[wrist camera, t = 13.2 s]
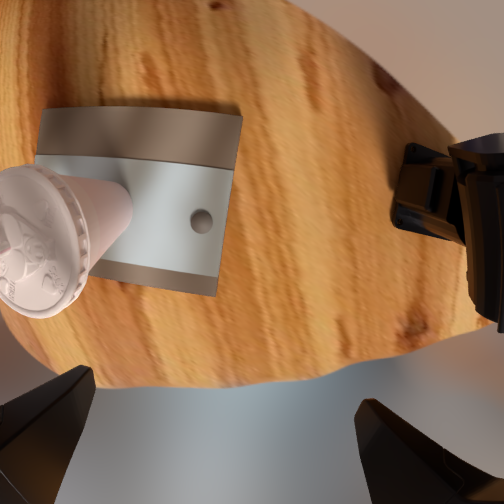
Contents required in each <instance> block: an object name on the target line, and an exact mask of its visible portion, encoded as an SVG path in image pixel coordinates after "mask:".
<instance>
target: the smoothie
mask: <svg viewBox="0 0 504 504" xmlns="http://www.w3.org/2000/svg"><path fill="white" fill-rule="evenodd" d="M132 215H133V204H132V200H131V197H130V195H129V193H128V192H127V190H126V189H125V188H124V187H123V186H121V185H120V184H118V183H116V182H112V181H105V180H98V179H90V178H83V177H75V176H67V175H61V174H57V173H56V172H54V171H52V170H50V169H48V168H46V167H44V166H42V165H35V164H25V165H22V166H18V167H11V168H8V169H5V170H3V171H1V172H0V298H1V299H2V300H3V301H4V302H5V303H6V304H7V305H8V306H10V307H11V308H12V309H14V310H15V311H17V312H19V313H20V314H23V315H25V316H28V317H31V318H48V317H51V316H54V315H56V314H57V313H59V312H60V311H62V310H63V309H64V308H66V307H67V306H69V305H70V304H71V303H72V302H73V301H74V300H76V299H77V298H78V296H79V294H80V293H81V291H82V289H83V288H84V286H85V284H86V281H87V277H88V273H89V271H90V270H91V268H92V267H93V266H94V265H95V263H96V262H97V261H98V260H99V259H100V257H101V256H102V255H103V254H104V253H105V252H106V250H107V249H108V248H109V247H110V246H111V245H112V243H113V242H114V241H115V240H116V239H117V238H118V237H119V236H120V234H121V233H122V232H123V231H124V230H125V229H126V228H127V226H128V225H129V223H130V221H131V219H132Z"/></svg>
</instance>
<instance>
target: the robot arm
mask: <svg viewBox="0 0 504 504" xmlns="http://www.w3.org/2000/svg"><path fill="white" fill-rule="evenodd" d="M411 147H413V148H414V151H413V152H412V151H411ZM448 151H449V155H450V156H451V157H452V158H451V157H448V156H446V155H444V154H441V153H439V152H437V151H434V150H432V149H429V148H427V147H424V146H422V145H419V144H416V143H408V144H407V145H406V148H405V155H404V162H403V166H402V167H401V171H400V177H399V182H398V188H397V193H396V205H395V210H394V214H393V219H392V224H393V226H394V227H396V228H398V229H402V230H406V231H411V232H415V233H419V234H423V235H428V236H432V237H436V238H440V239H444V240H448V241H454V242H456V243H458V244H460V245H462V246H465V247H466V253H467V268H468V271H467V272H466V275H467V281H468V292H469V296H470V298H471V300H472V301H473V303H474V304H475V305H476V306H475V310H476V312H478V313H479V314H480V315H482V316H483V317H485V318H486V319H489V320H491V321H493V322H495V323H498V329H497V331H498V333H504V133H494V134H489V135H485V136H482V137H478V138H475V139H471V140H467V141H464V142H461V143H457V144H454V145H450V146H448ZM399 219H400V224H397V221H398V220H399ZM95 390H96V385H95V380H94V374H93V370H92V368H91V367H88V366H84V365H79V366H77V367H75V368H73V369H71V370H69V371H67V372H65V373H63V374H61V375H60V376H58V377H56V378H54V379H52V380H50V381H48V382H46V383H44V384H42V385H40V386H38V387H36V388H34V389H33V390H30V391H29V392H27V393H25V394H23V395H21V396H19V397H17V398H15V399H13V400H11V401H9V402H7V403H5V404H4V405H1V406H0V504H54V502H55V499H56V497H57V494H58V491H59V488H60V486H61V483H62V480H63V478H64V475H65V473H66V470H67V468H68V465H69V463H70V460H71V458H72V455H73V452H74V450H75V448H76V446H77V443H78V441H79V439H80V436H81V434H82V432H83V429H84V426H85V423H86V420H87V416H88V413H89V410H90V407H91V403H92V400H93V397H94V394H95ZM354 422H355V429H356V435H357V442H358V448H359V455H360V459H361V463H362V466H363V470H364V474H365V478H366V482H367V486H368V489H369V493H370V497H371V501H372V504H504V479H502V478H497V477H494V476H492V475H490V474H488V473H486V472H483V471H482V470H480V469H478V468H476V467H474V466H472V465H471V464H469V463H467V462H465V461H463V460H462V459H460V458H458V457H457V456H455V455H454V454H452V453H451V452H449V451H448V450H446V449H443V447H442V446H440V445H439V444H438V443H436V442H435V441H433V440H432V439H430V438H429V437H427V436H426V435H425V434H423V433H422V432H420V431H419V430H418V429H416V428H415V427H413V426H412V425H411V424H409V423H408V422H406V421H405V420H403V419H402V418H401V417H399V416H398V415H396V414H395V413H394V412H392V411H391V410H390V409H388V408H387V407H386V406H384V405H383V404H382V403H380V402H379V401H378V400H376V399H374V398H370V399H364V400H363V401H362V402H361V404H360V406H359V408H358V410H357V412H356V414H355V417H354Z"/></svg>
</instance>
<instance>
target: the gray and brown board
mask: <svg viewBox="0 0 504 504" xmlns="http://www.w3.org/2000/svg"><path fill="white" fill-rule="evenodd" d="M242 121H243V116H236V115H229V114H222V113H213V112H204V111H195V110H184V109H171V108H155V107H128V106H92V107H66V108H51V109H43V111H42V116H41V122H40V129H39V136H38V143H37V152H36V155H35V165H42V166H44V167H46V168H48V169H50V170H52V171H54V172H56V173H57V174H61V175H67V176H75V177H83V178H90V179H98V180H105V181H112V182H116V183H118V184H120V185H121V186H123V187H124V188H125V189H126V190H127V192H128V193H129V195H130V197H131V200H132V204H133V215H132V219H131V221H130V223H129V225H128V226H127V228H126V229H125V230H124V231H123V232H122V233H121V234H120V236H119V237H118V238H117V239H116V240H115V241H114V242H113V243H112V245H111V246H110V247H109V248H108V249H107V250H106V252H105V253H104V254H103V255H102V256H101V257H100V259H99V260H98V261H97V262H96V263H95V265H94V266H93V267H92V268H91V270H90V271H89V273H88V275H90V276H95V277H100V278H105V279H110V280H116V281H121V282H126V283H132V284H137V285H143V286H149V287H155V288H161V289H167V290H173V291H179V292H185V293H192V294H198V295H205V296H212V297H216V292H217V284H218V276H219V269H220V262H221V255H222V247H223V240H224V234H225V227H226V220H227V213H228V207H229V200H230V194H231V187H232V181H233V175H234V168H235V162H236V156H237V150H238V144H239V138H240V132H241V127H242Z"/></svg>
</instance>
